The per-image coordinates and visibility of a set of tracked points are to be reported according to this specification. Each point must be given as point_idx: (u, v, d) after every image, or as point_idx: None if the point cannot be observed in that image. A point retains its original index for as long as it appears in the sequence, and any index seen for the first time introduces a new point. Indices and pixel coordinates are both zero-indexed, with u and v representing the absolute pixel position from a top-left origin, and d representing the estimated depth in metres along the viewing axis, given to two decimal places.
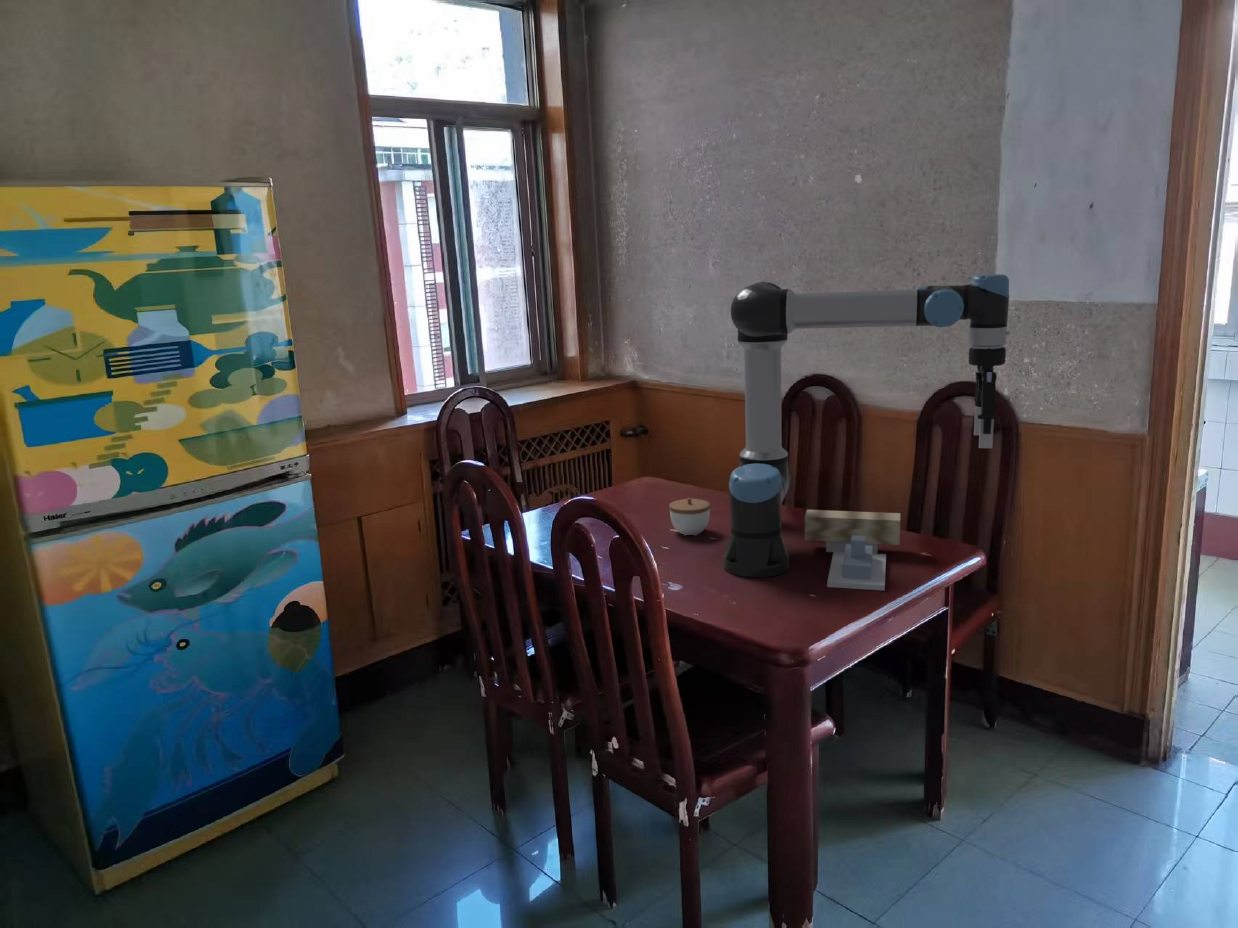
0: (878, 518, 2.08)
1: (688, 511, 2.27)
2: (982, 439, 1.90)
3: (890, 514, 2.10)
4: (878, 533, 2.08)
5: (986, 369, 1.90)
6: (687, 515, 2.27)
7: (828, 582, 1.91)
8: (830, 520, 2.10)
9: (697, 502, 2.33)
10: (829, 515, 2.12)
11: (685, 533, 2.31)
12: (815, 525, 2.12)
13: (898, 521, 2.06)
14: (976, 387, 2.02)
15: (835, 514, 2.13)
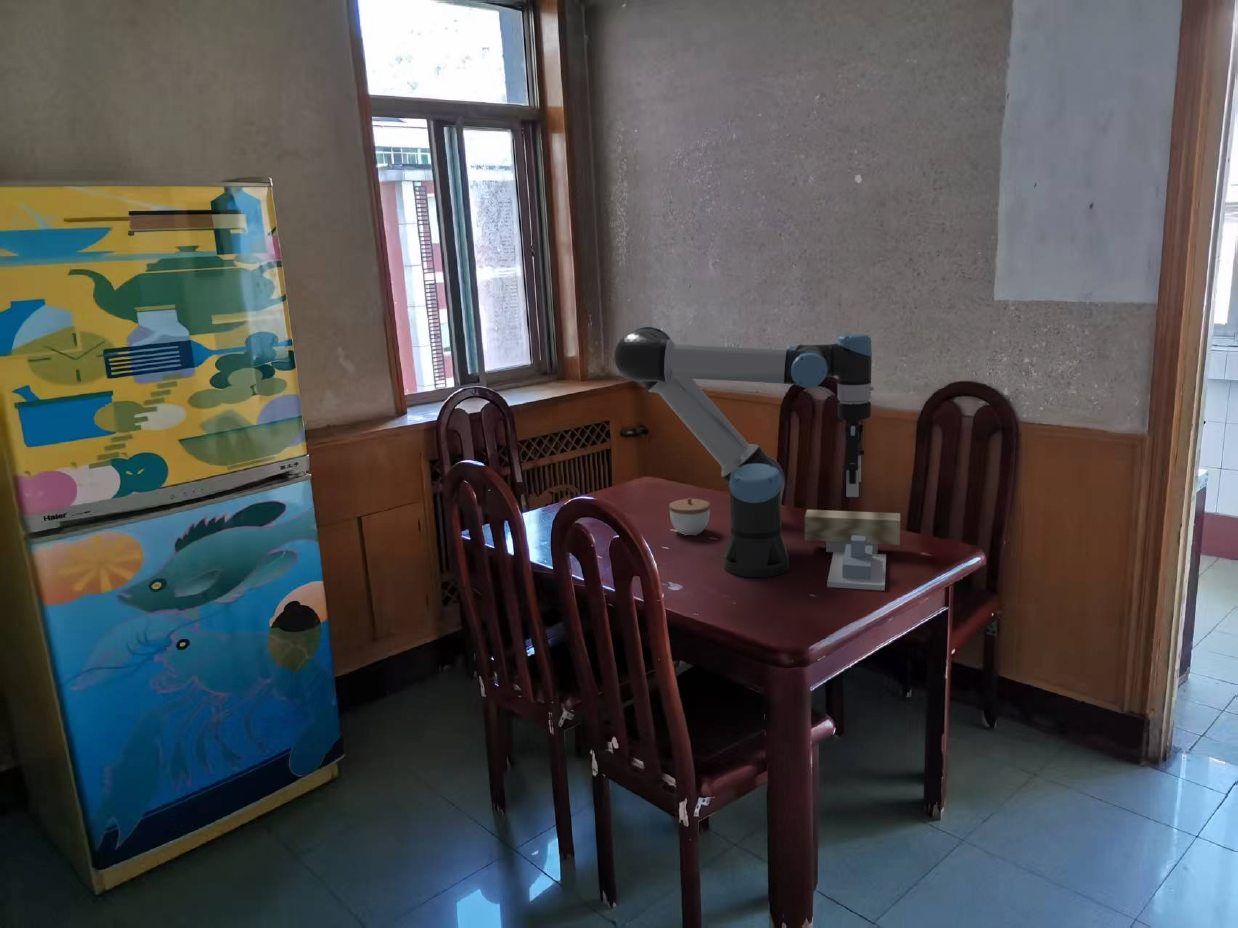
0: (878, 518, 2.08)
1: (688, 511, 2.27)
2: (848, 488, 2.03)
3: (890, 514, 2.10)
4: (878, 533, 2.08)
5: (852, 423, 2.03)
6: (687, 515, 2.27)
7: (828, 582, 1.91)
8: (830, 520, 2.10)
9: (697, 502, 2.33)
10: (829, 515, 2.12)
11: (685, 533, 2.31)
12: (815, 525, 2.12)
13: (898, 521, 2.06)
14: None
15: (835, 514, 2.13)
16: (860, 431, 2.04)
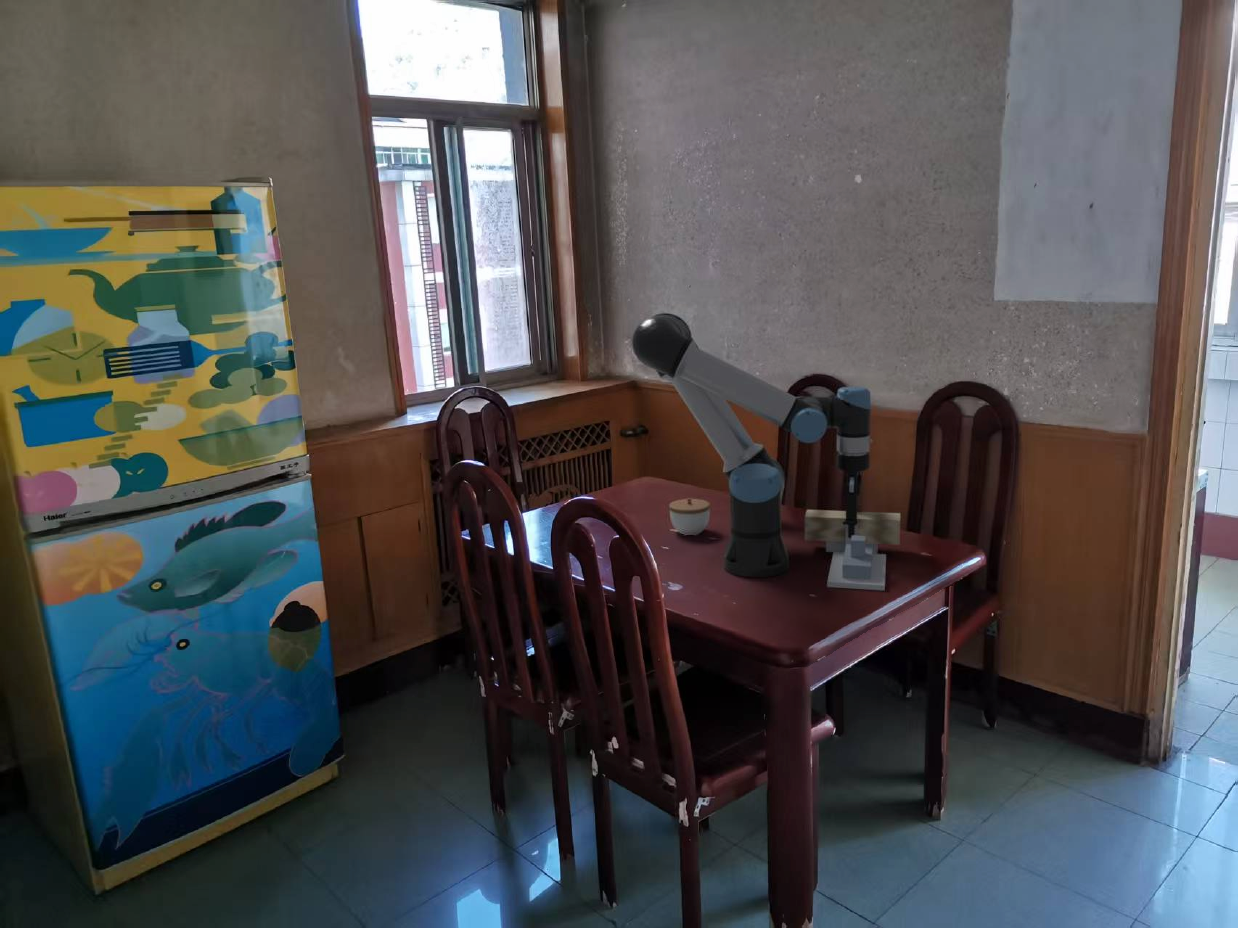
0: (878, 518, 2.08)
1: (688, 511, 2.27)
2: (847, 542, 2.10)
3: (890, 514, 2.10)
4: (878, 533, 2.08)
5: (850, 474, 2.06)
6: (687, 515, 2.27)
7: (828, 582, 1.91)
8: (830, 520, 2.10)
9: (697, 502, 2.33)
10: (829, 515, 2.12)
11: (685, 533, 2.31)
12: (815, 525, 2.12)
13: (898, 521, 2.06)
14: None
15: (835, 514, 2.13)
16: (859, 484, 2.07)
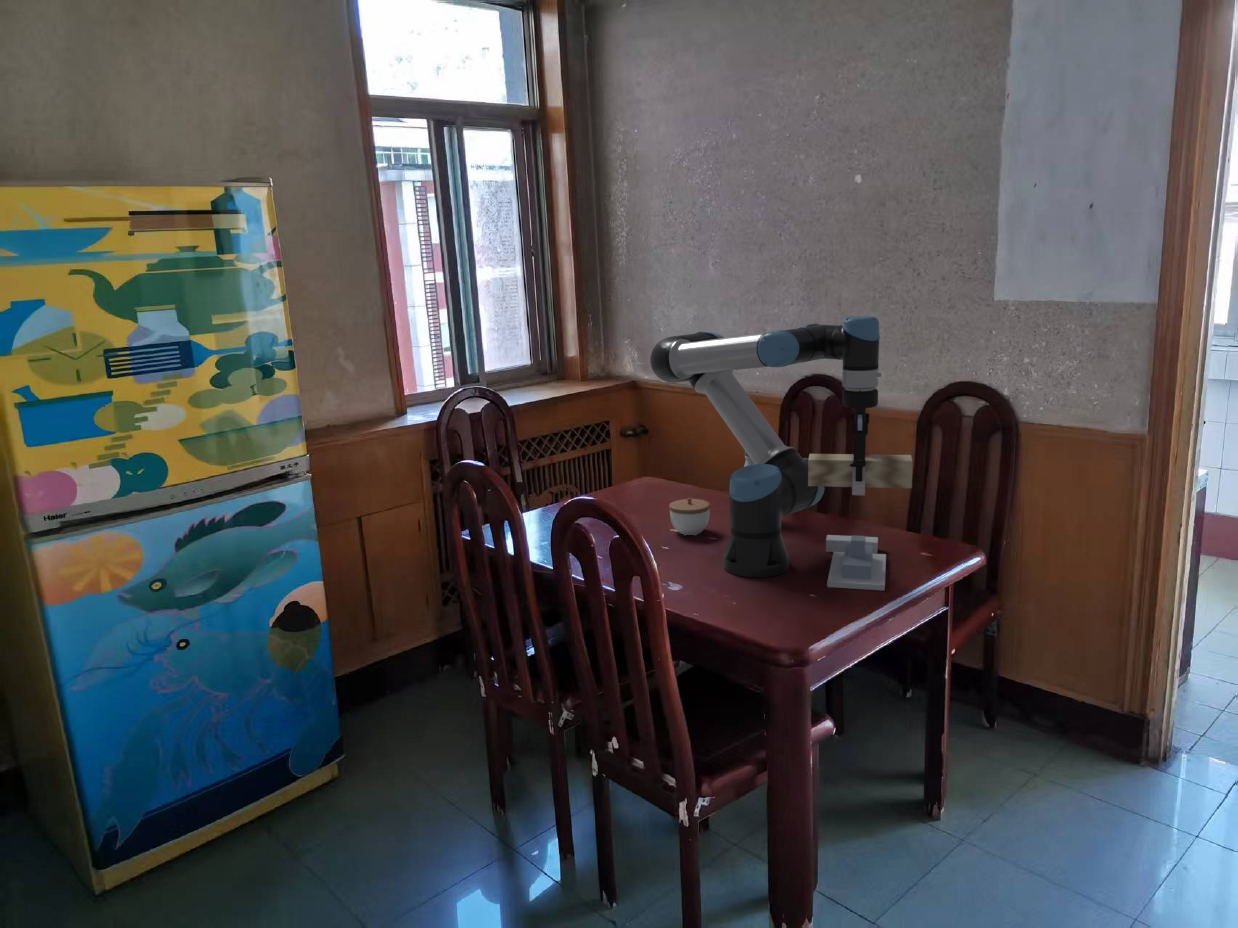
0: (888, 459, 1.91)
1: (688, 511, 2.27)
2: (854, 486, 1.93)
3: (900, 456, 1.94)
4: (889, 476, 1.91)
5: (858, 411, 1.89)
6: (687, 515, 2.27)
7: (828, 582, 1.91)
8: (836, 462, 1.93)
9: (697, 502, 2.33)
10: (834, 458, 1.95)
11: (685, 533, 2.31)
12: (820, 469, 1.94)
13: (910, 462, 1.89)
14: None
15: (841, 457, 1.96)
16: (867, 422, 1.90)
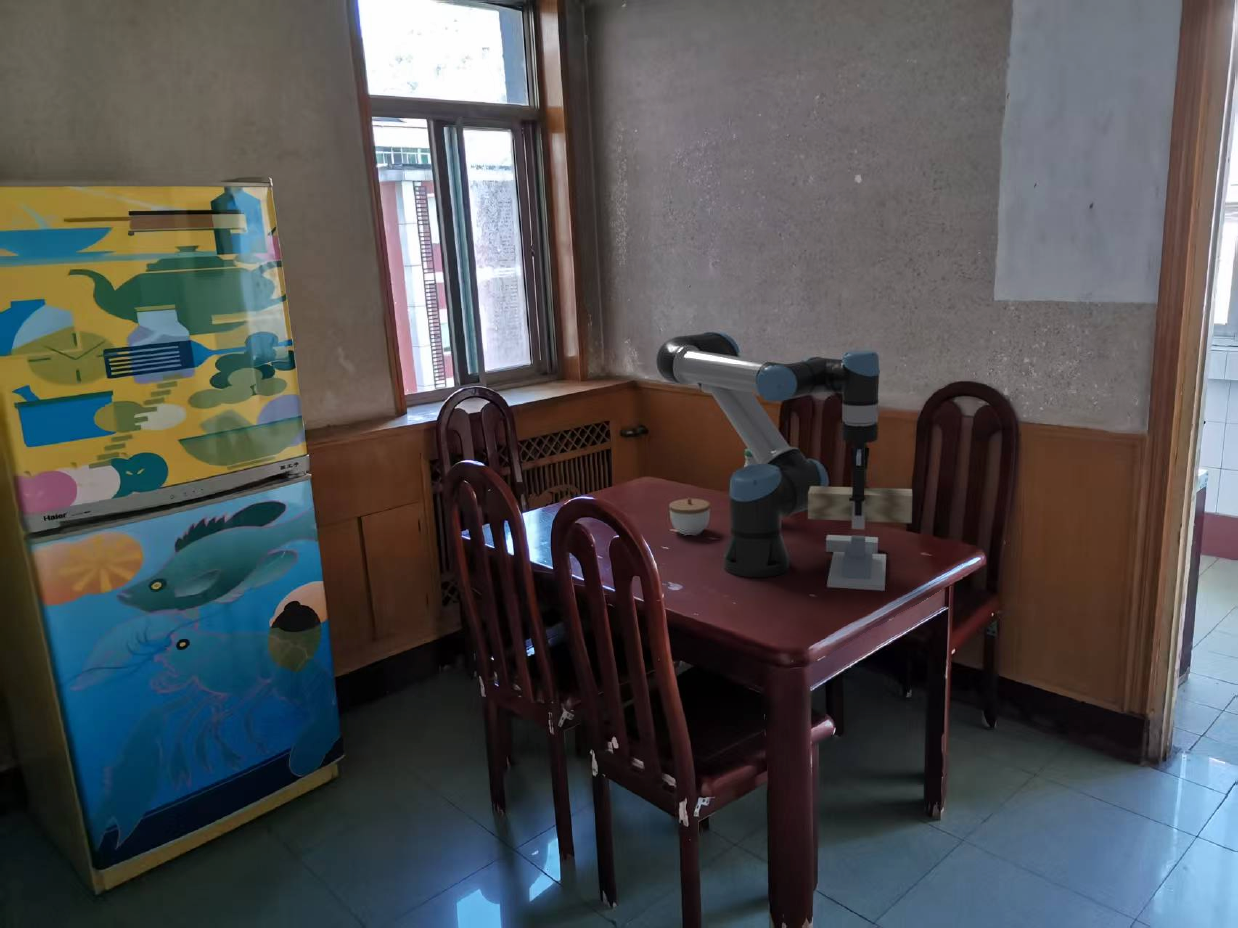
0: (888, 494, 1.91)
1: (688, 511, 2.27)
2: (854, 520, 1.93)
3: (901, 490, 1.94)
4: (888, 510, 1.91)
5: (857, 446, 1.89)
6: (687, 515, 2.27)
7: (828, 582, 1.91)
8: (836, 496, 1.93)
9: (697, 502, 2.33)
10: (834, 491, 1.95)
11: (685, 533, 2.31)
12: (820, 502, 1.95)
13: (910, 497, 1.89)
14: None
15: (841, 490, 1.96)
16: (866, 456, 1.90)
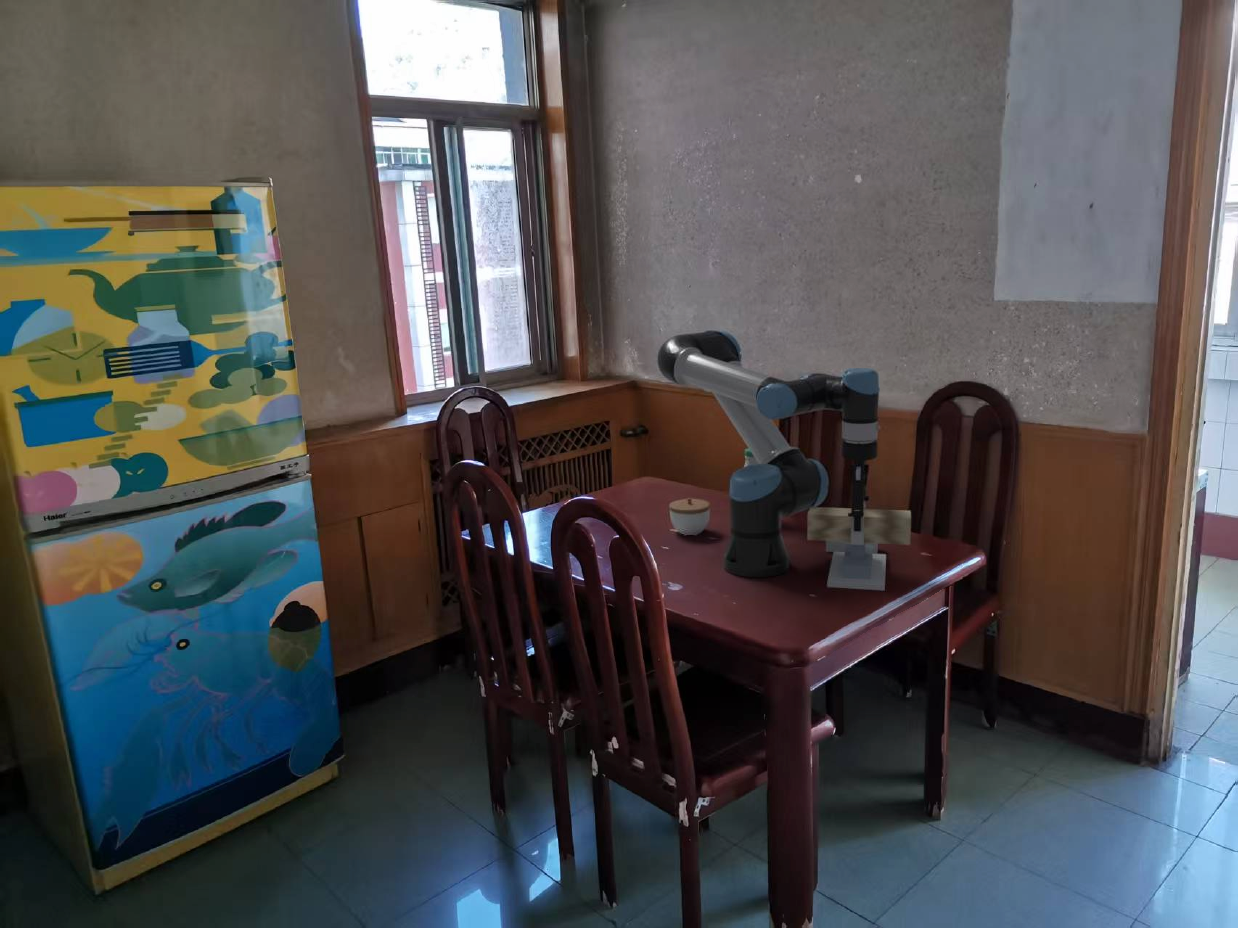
0: (887, 516, 1.92)
1: (688, 511, 2.27)
2: (853, 536, 1.92)
3: (900, 512, 1.95)
4: (887, 532, 1.92)
5: (857, 464, 1.90)
6: (687, 515, 2.27)
7: (828, 582, 1.91)
8: (835, 518, 1.95)
9: (697, 502, 2.33)
10: (834, 512, 1.97)
11: (685, 533, 2.31)
12: (819, 523, 1.96)
13: (909, 519, 1.90)
14: None
15: (841, 511, 1.97)
16: (866, 473, 1.91)
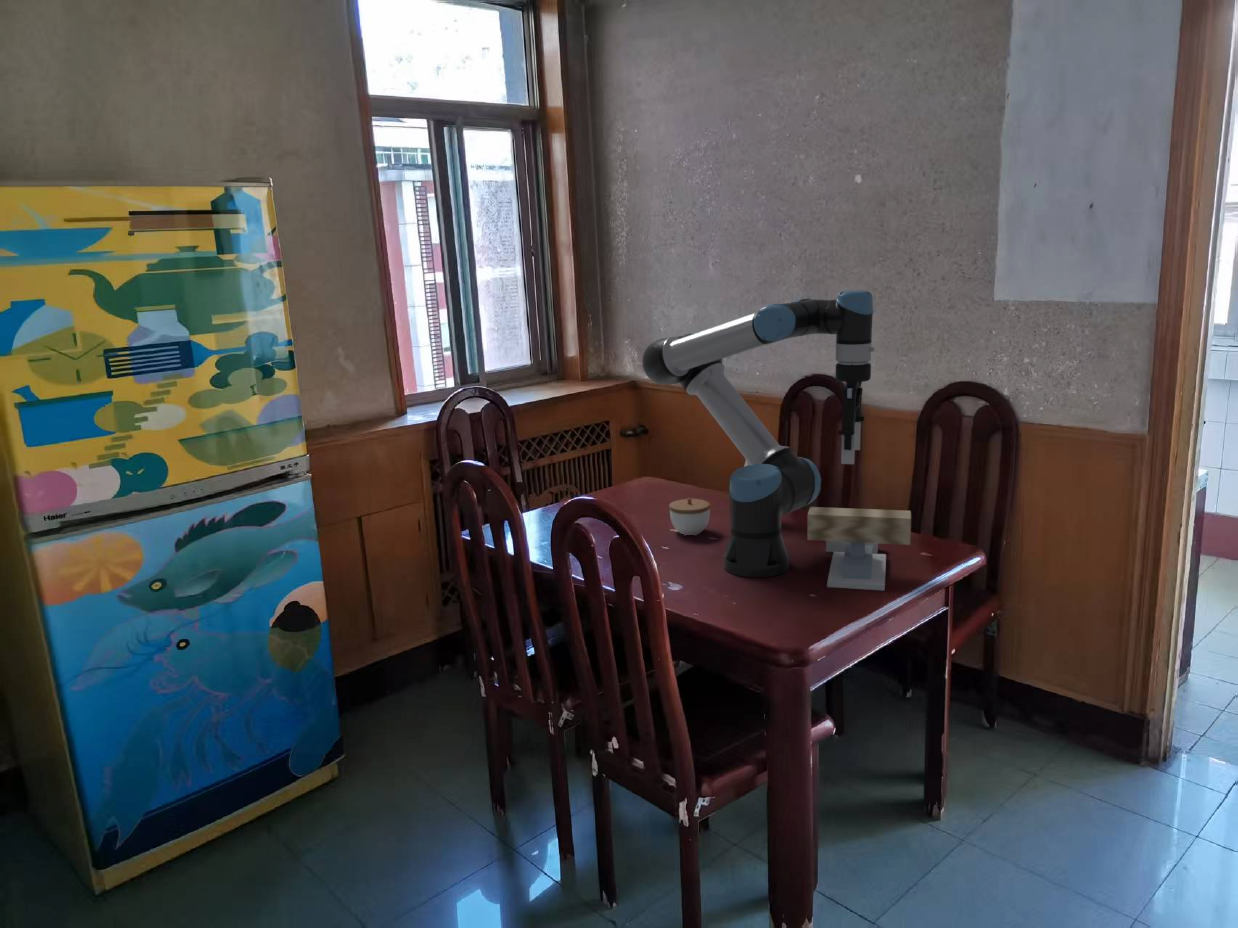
0: (887, 516, 1.92)
1: (688, 511, 2.27)
2: (844, 455, 1.91)
3: (900, 512, 1.95)
4: (887, 532, 1.92)
5: (849, 385, 1.90)
6: (687, 515, 2.27)
7: (828, 582, 1.91)
8: (835, 518, 1.95)
9: (697, 502, 2.33)
10: (834, 512, 1.97)
11: (685, 533, 2.31)
12: (819, 523, 1.96)
13: (909, 519, 1.90)
14: None
15: (841, 511, 1.97)
16: (858, 394, 1.91)
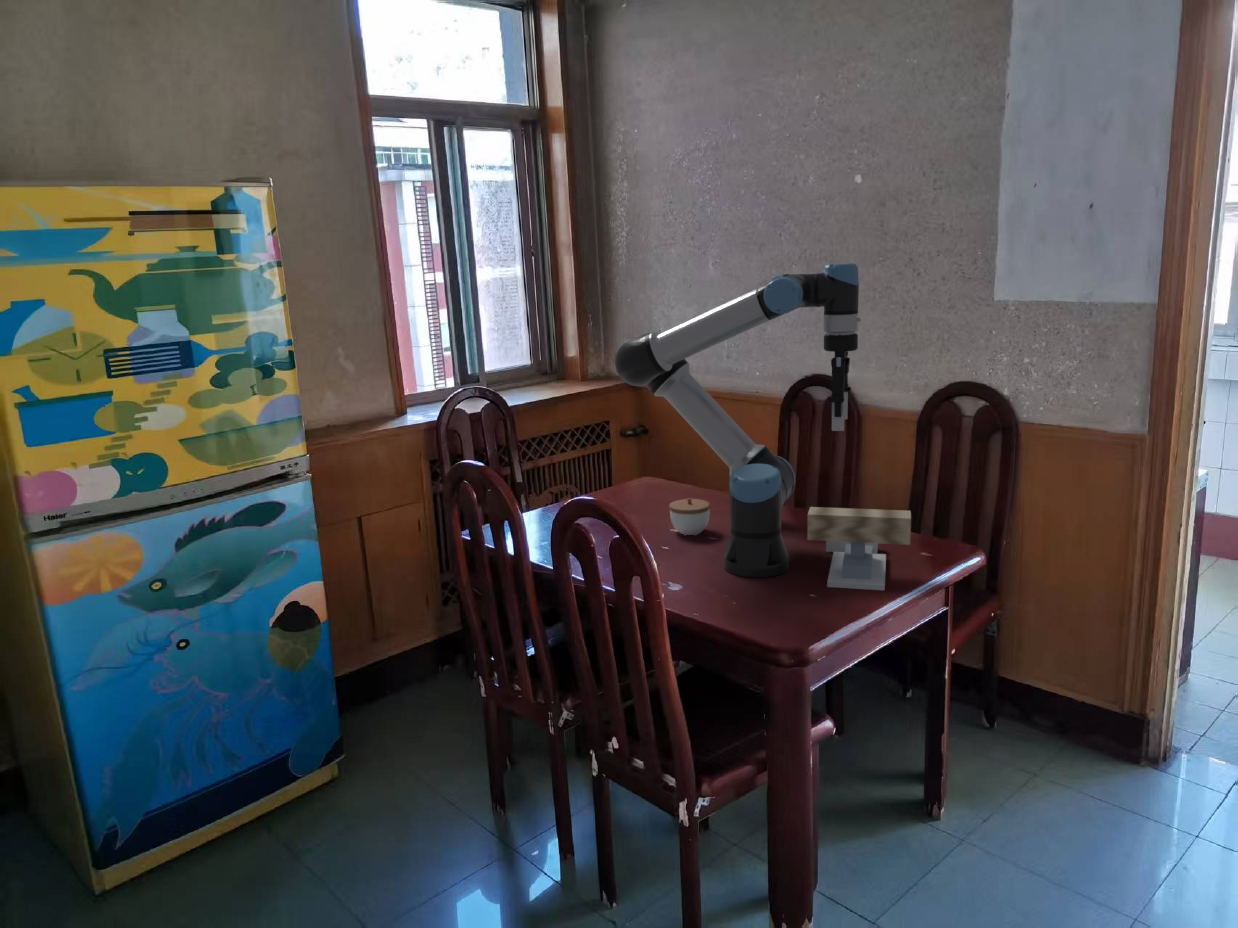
0: (887, 516, 1.92)
1: (688, 511, 2.27)
2: (834, 422, 1.98)
3: (900, 512, 1.95)
4: (887, 532, 1.92)
5: (838, 354, 1.97)
6: (687, 515, 2.27)
7: (828, 582, 1.91)
8: (835, 518, 1.95)
9: (697, 502, 2.33)
10: (834, 512, 1.97)
11: (685, 533, 2.31)
12: (819, 523, 1.96)
13: (909, 519, 1.90)
14: None
15: (841, 511, 1.97)
16: (846, 363, 1.98)
